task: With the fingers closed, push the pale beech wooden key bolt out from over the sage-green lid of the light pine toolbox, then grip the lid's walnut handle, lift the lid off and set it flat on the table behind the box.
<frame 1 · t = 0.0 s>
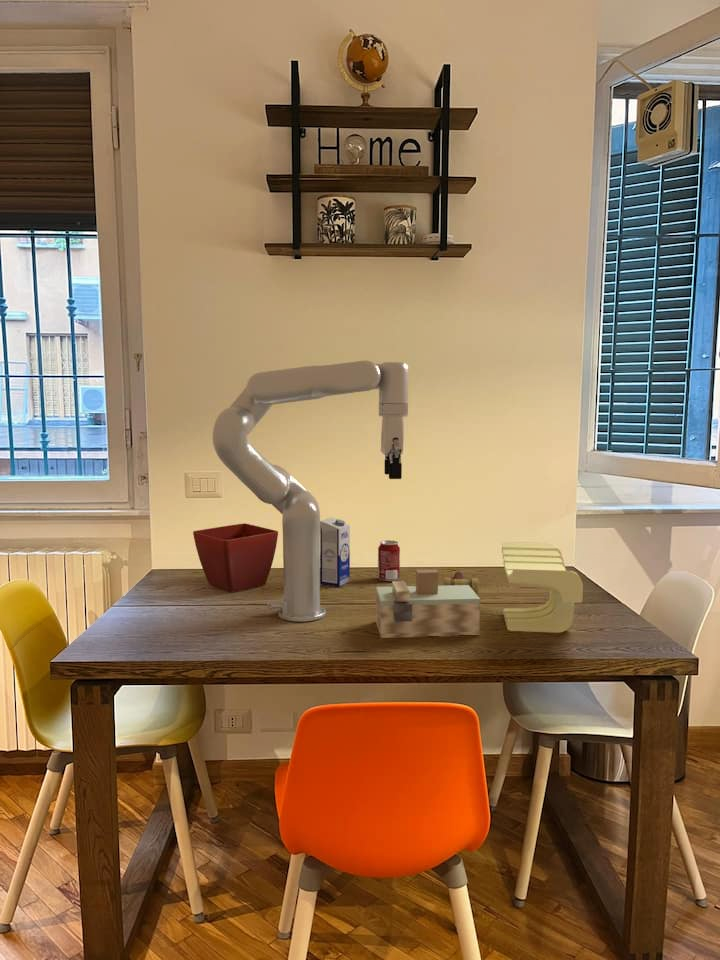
hand: (392, 476, 185), 37 cm above the table, tool pointing down, fingers open, 9 cm apart
plant pot: (236, 585, 216), on the table
slatted curved stool: (536, 624, 181), on the table
lid: (426, 597, 176), point 8 cm above the table, touching toolbox
milk carton: (335, 583, 218), on the table
toolbox: (426, 628, 177), on the table
gavel: (459, 586, 217), on the table
key bolt: (400, 591, 172), point 11 cm above the table, slide at 0.0 cm
soda can: (388, 580, 222), on the table
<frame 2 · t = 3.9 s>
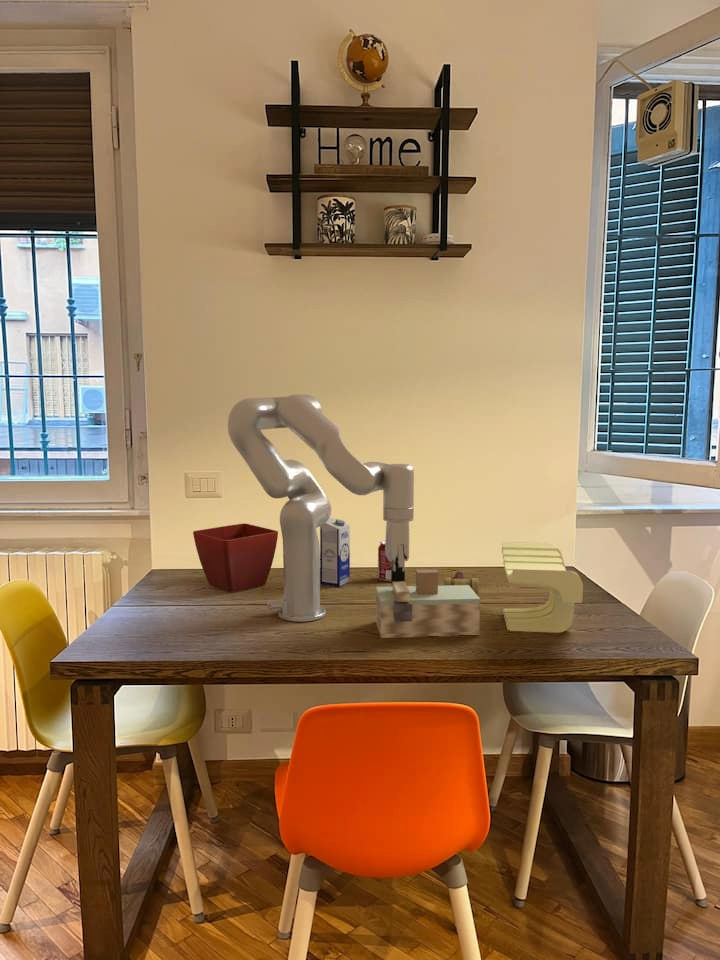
hand: (397, 585, 177), 10 cm above the table, tool pointing down, fingers closed
key bolt: (400, 591, 171), point 11 cm above the table, slide at 0.3 cm, touching gripper
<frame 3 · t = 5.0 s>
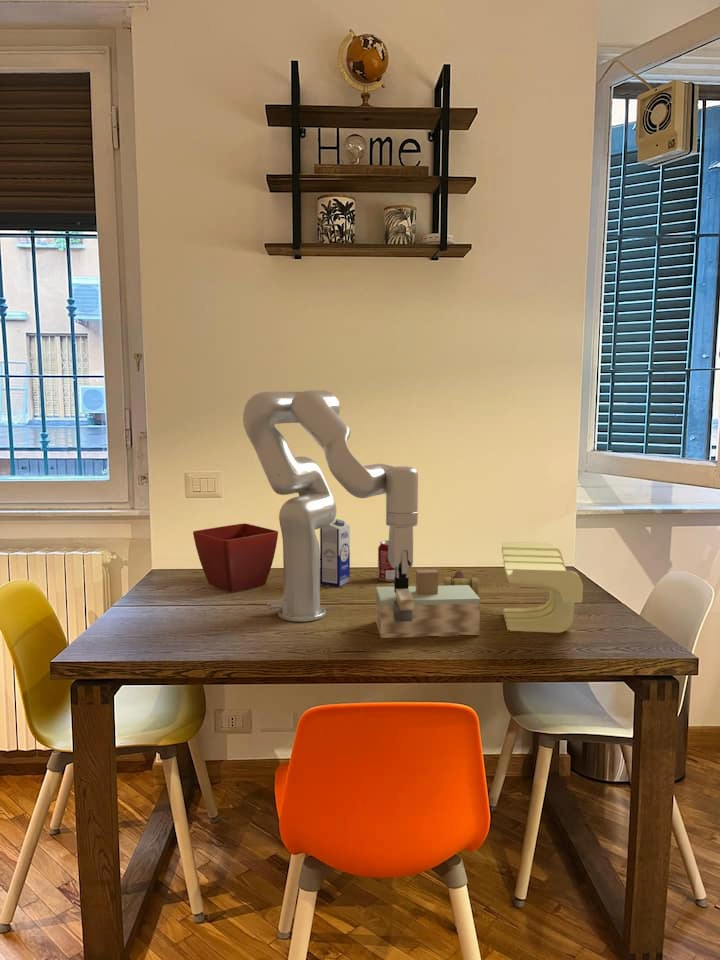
hand: (401, 593, 171), 10 cm above the table, tool pointing down, fingers closed
key bolt: (404, 599, 165), point 11 cm above the table, slide at 6.7 cm, touching gripper
everything else where it was.
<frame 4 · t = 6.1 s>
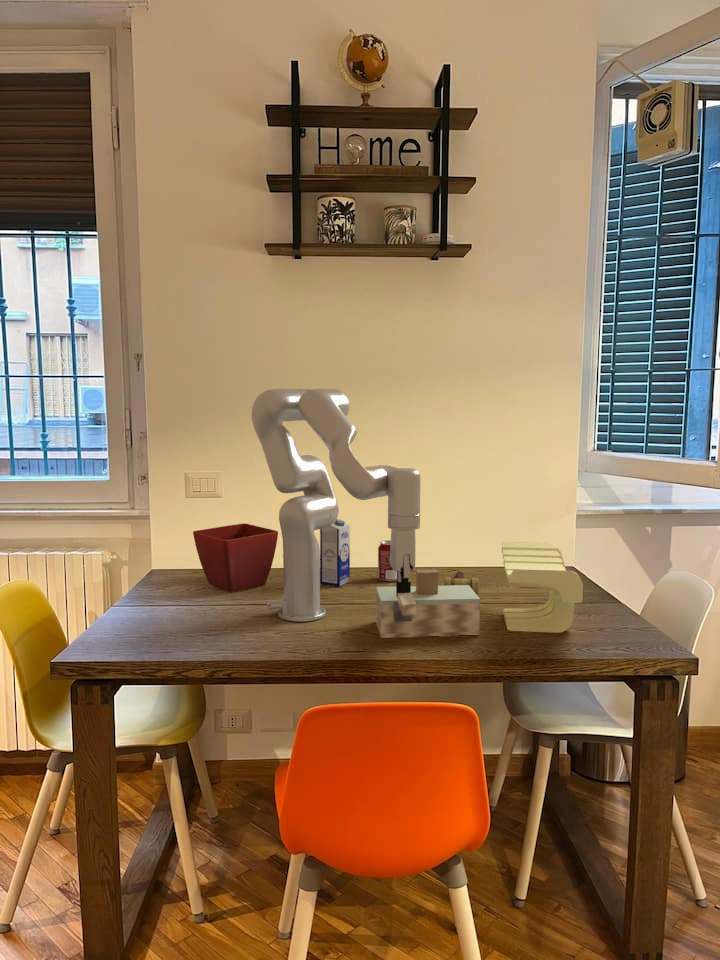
hand: (403, 597, 168), 10 cm above the table, tool pointing down, fingers closed
key bolt: (406, 603, 161), point 11 cm above the table, slide at 10.3 cm, touching gripper
everything else where it was.
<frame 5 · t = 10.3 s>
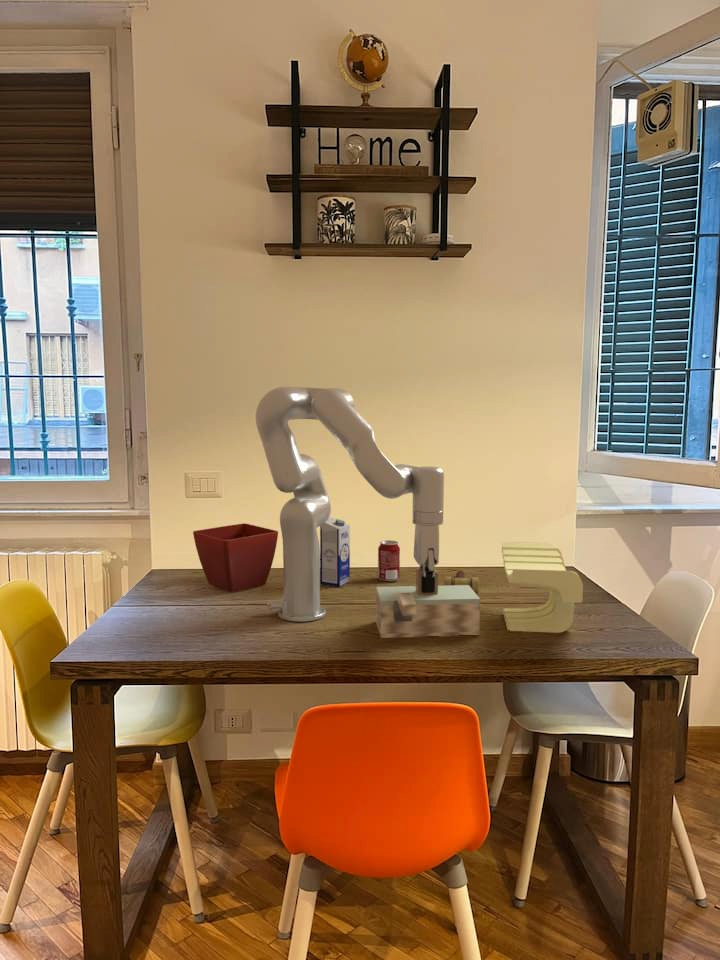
hand: (426, 589, 176), 10 cm above the table, tool pointing down, fingers closed on lid, 3 cm apart
lid: (426, 597, 176), point 8 cm above the table, touching gripper, toolbox
key bolt: (406, 603, 161), point 11 cm above the table, slide at 10.3 cm
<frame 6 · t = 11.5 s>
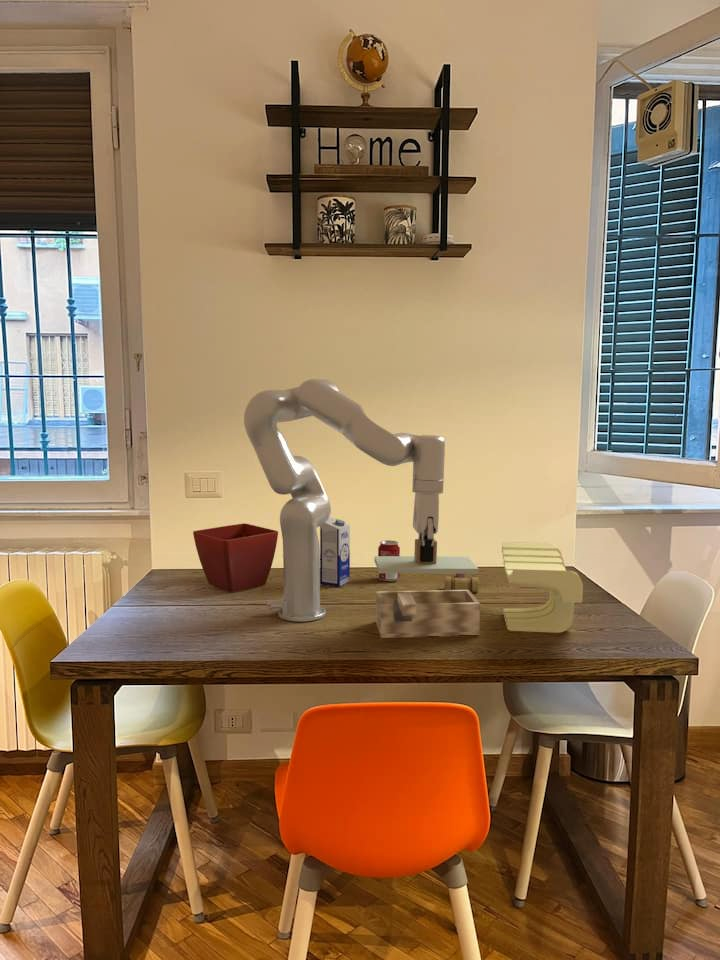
hand: (425, 559, 175), 18 cm above the table, tool pointing down, fingers closed on lid, 3 cm apart
lid: (424, 567, 175), point 16 cm above the table, touching gripper
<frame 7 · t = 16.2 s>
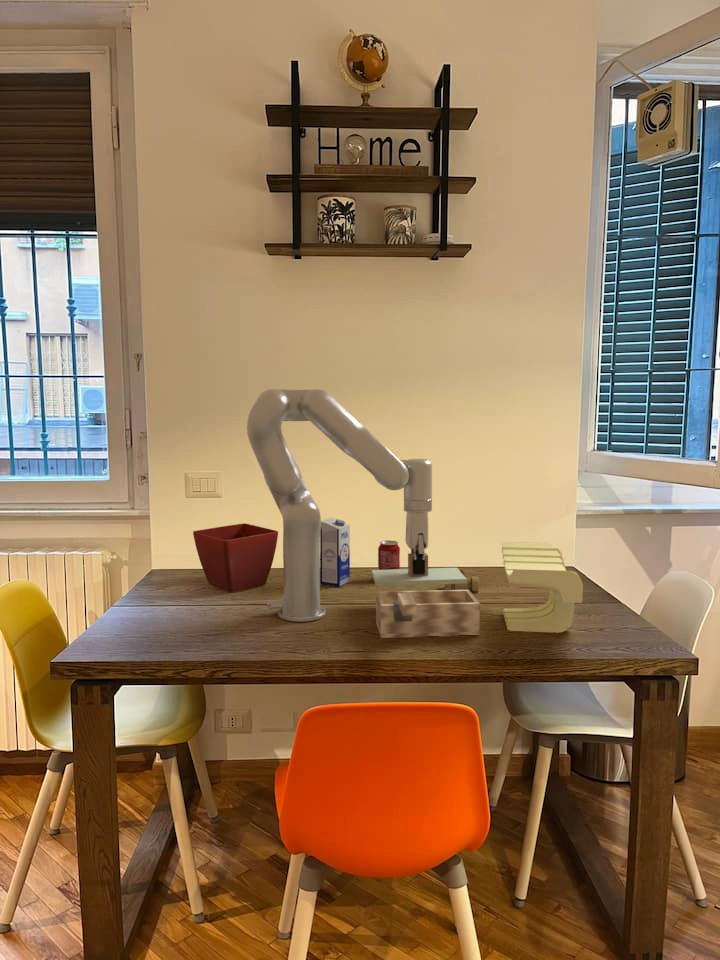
hand: (417, 571, 191), 10 cm above the table, tool pointing down, fingers closed on lid, 3 cm apart
lid: (417, 578, 192), point 8 cm above the table, touching gripper
when the fingers open (4 cm above the table, at t = 17.9 s): lid drops 2 cm, on the table.
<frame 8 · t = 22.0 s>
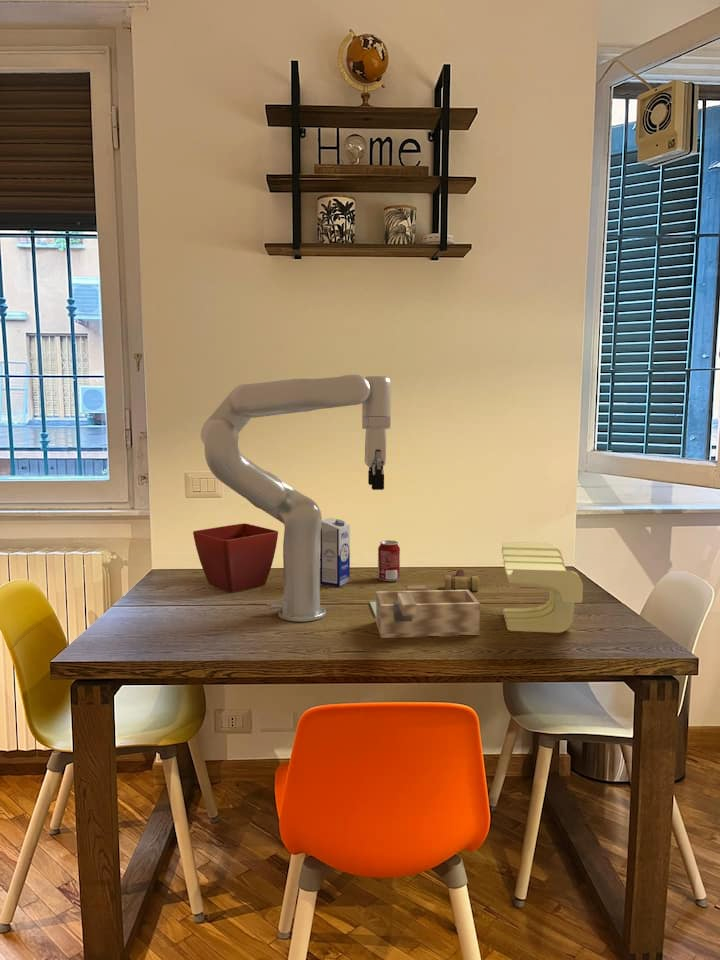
hand: (375, 487, 190), 33 cm above the table, tool pointing down, fingers open, 9 cm apart
lid: (416, 610, 193), on the table
at the end: key bolt slide at 10.3 cm; lid inside the target area (0.0 cm from its centre), on the table; the gripper is holding nothing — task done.
